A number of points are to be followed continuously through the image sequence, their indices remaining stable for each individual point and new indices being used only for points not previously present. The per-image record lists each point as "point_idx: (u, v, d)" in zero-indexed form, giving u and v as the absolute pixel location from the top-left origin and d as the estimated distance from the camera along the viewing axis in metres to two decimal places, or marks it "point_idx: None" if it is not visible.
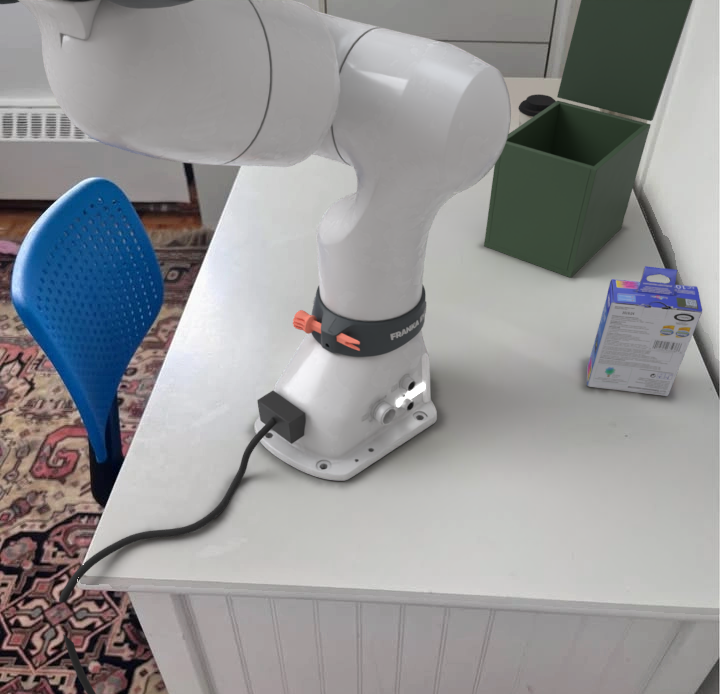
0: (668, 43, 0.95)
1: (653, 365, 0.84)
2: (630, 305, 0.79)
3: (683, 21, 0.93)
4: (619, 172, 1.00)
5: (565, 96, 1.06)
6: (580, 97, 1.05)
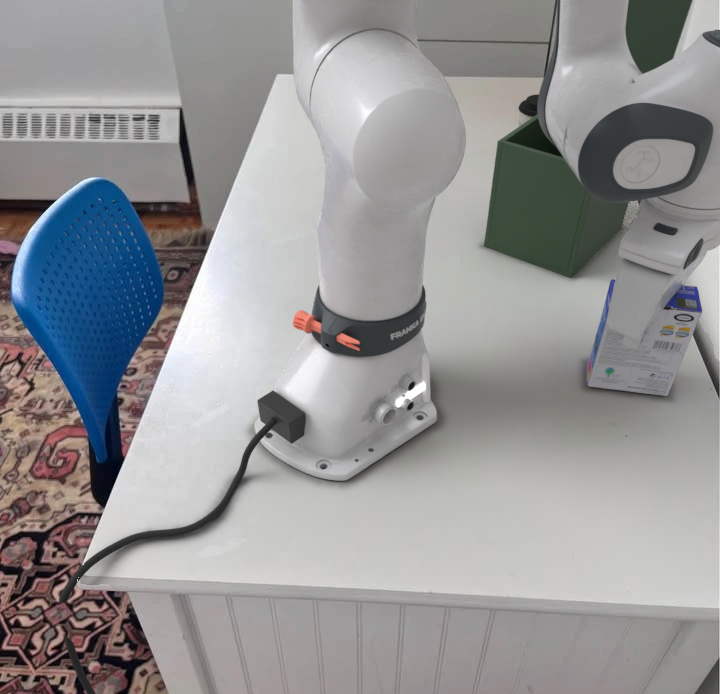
0: (668, 43, 0.95)
1: (653, 365, 0.84)
2: None
3: (683, 21, 0.93)
4: None
5: None
6: None
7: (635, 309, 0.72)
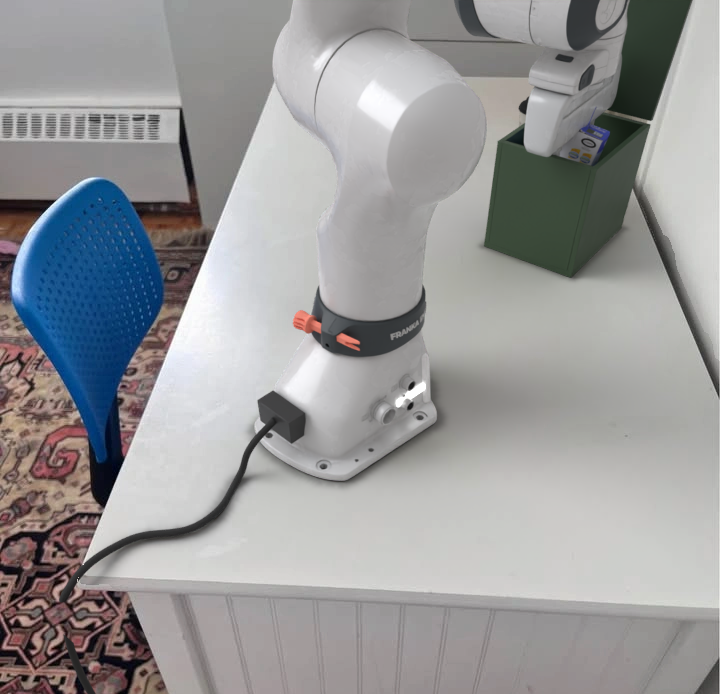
0: (668, 43, 0.95)
1: None
2: None
3: (683, 21, 0.93)
4: (619, 172, 1.00)
5: None
6: None
7: (543, 128, 0.89)
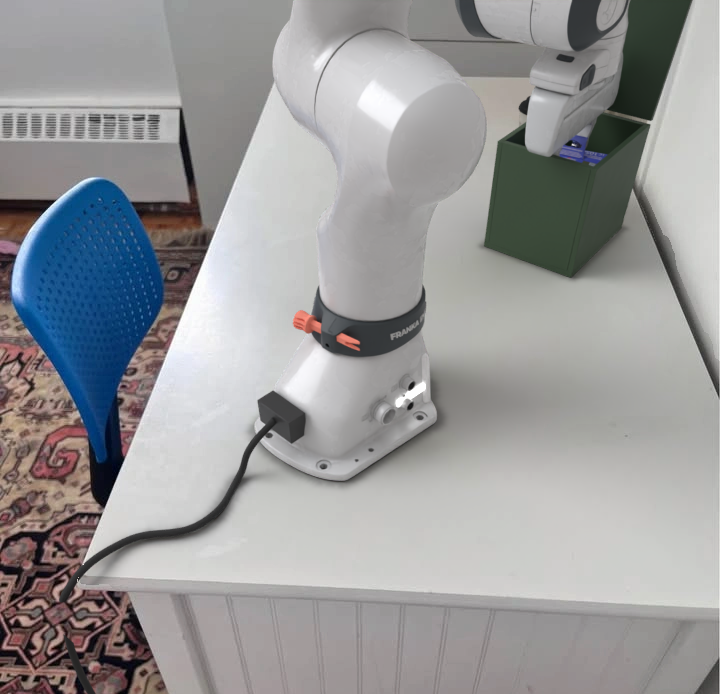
0: (668, 43, 0.95)
1: None
2: None
3: (683, 21, 0.93)
4: (619, 172, 1.00)
5: None
6: None
7: (544, 128, 0.89)
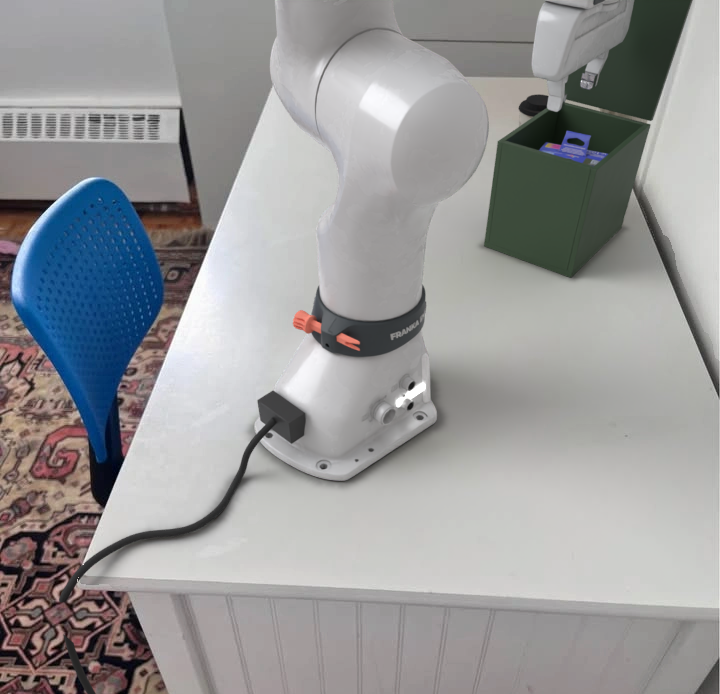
0: (668, 43, 0.95)
1: None
2: None
3: (683, 21, 0.93)
4: (619, 172, 1.00)
5: None
6: (580, 97, 1.05)
7: (553, 47, 0.82)
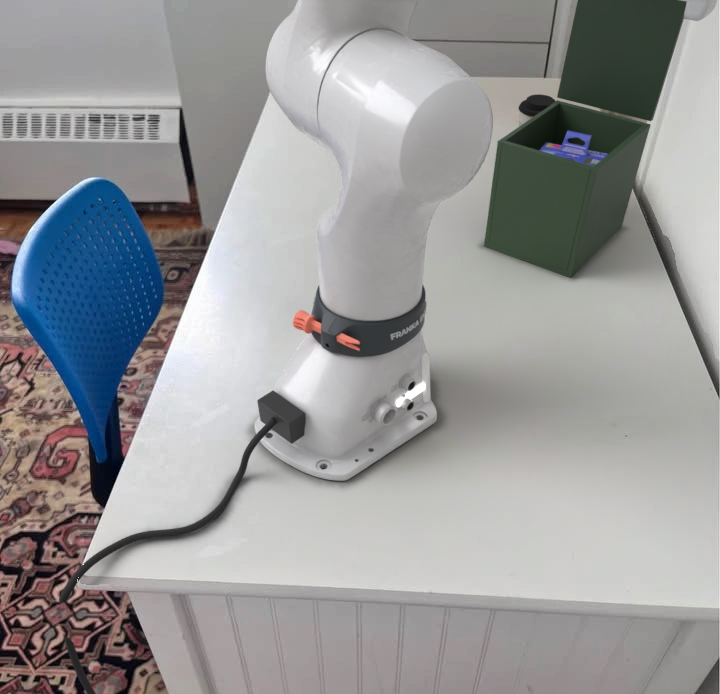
0: (666, 44, 0.95)
1: None
2: None
3: (680, 22, 0.92)
4: (619, 172, 1.00)
5: (565, 97, 1.06)
6: (580, 97, 1.05)
7: None
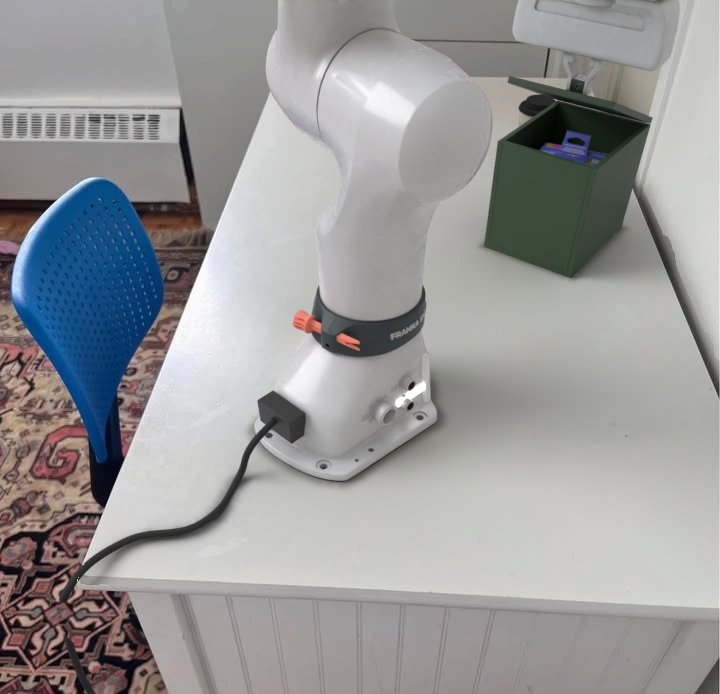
0: (625, 115, 0.94)
1: None
2: None
3: (626, 114, 0.92)
4: (619, 172, 1.00)
5: (564, 101, 1.06)
6: None
7: (672, 33, 0.84)
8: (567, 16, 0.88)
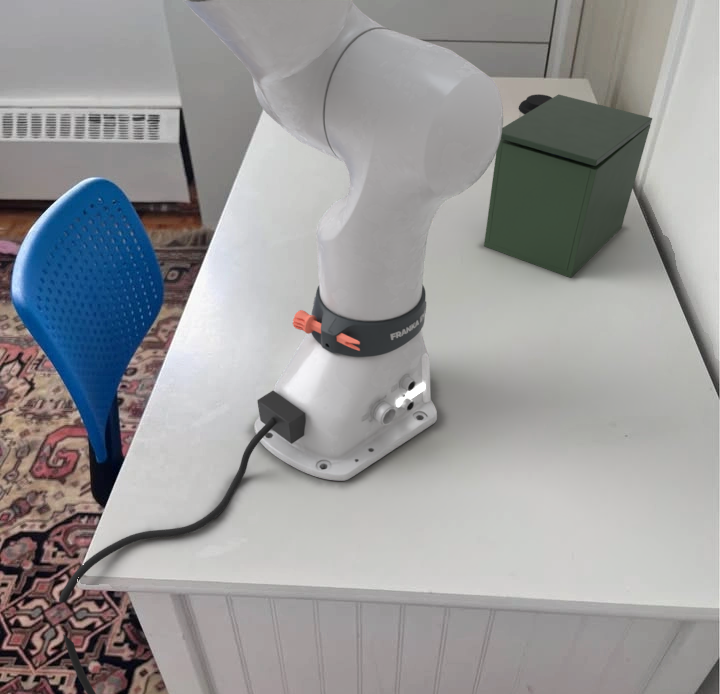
0: None
1: None
2: None
3: (615, 149, 0.95)
4: (619, 172, 1.00)
5: None
6: None
7: None
8: None
